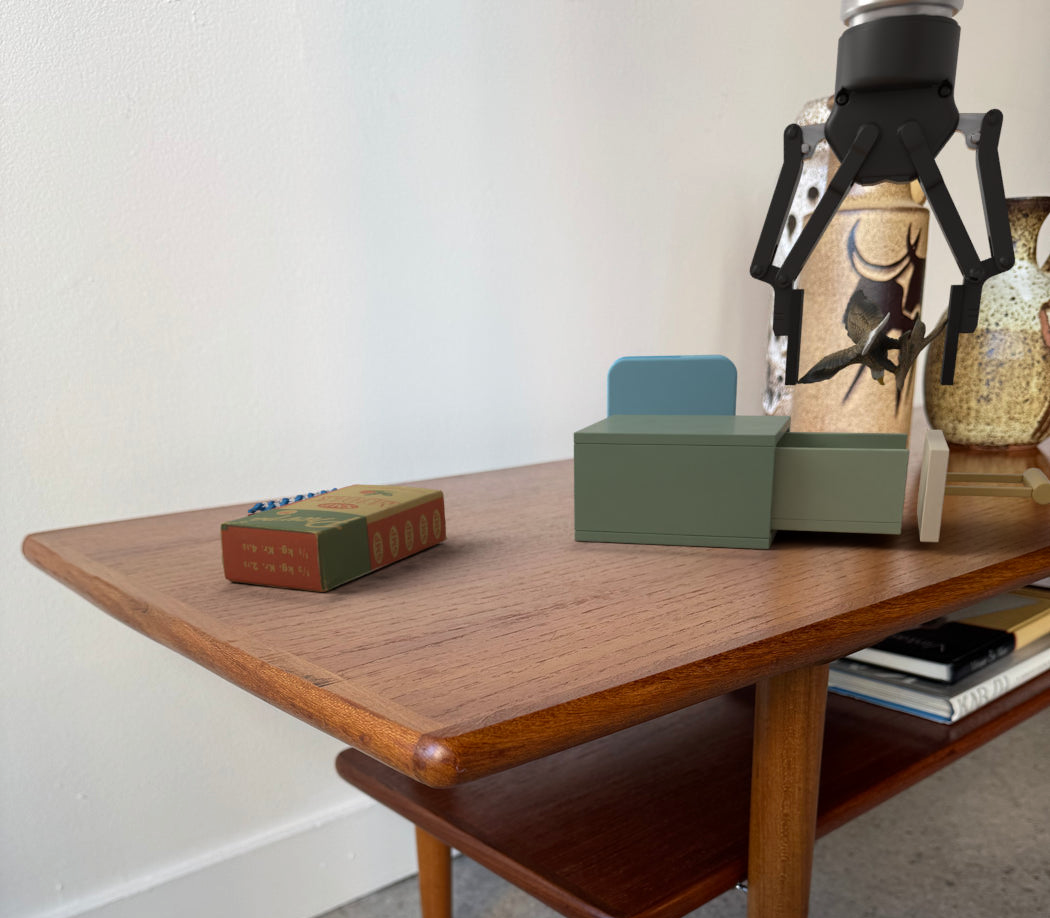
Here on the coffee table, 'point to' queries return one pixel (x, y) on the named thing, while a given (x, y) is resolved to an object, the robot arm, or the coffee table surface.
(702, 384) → the blue rounded panel
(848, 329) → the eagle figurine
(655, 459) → the cabinet
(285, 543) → the carton
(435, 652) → the coffee table surface
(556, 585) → the coffee table surface
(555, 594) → the coffee table surface
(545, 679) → the coffee table surface
